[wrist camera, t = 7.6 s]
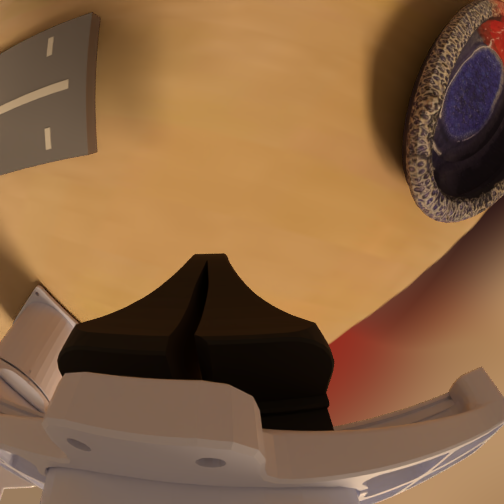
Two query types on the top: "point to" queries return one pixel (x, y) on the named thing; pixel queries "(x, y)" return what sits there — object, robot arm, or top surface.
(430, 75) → the dish
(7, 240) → the top surface
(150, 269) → the top surface
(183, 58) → the top surface
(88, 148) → the mixer panel
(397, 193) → the top surface
